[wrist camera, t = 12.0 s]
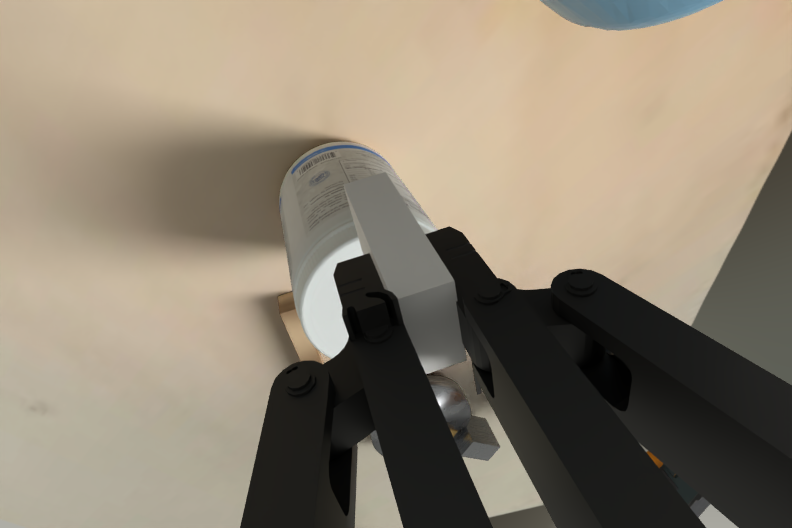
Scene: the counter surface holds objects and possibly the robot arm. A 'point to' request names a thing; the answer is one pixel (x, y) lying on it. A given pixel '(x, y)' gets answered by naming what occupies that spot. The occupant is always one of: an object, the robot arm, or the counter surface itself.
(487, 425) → the turntable
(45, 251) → the counter surface
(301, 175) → the supplement tub
